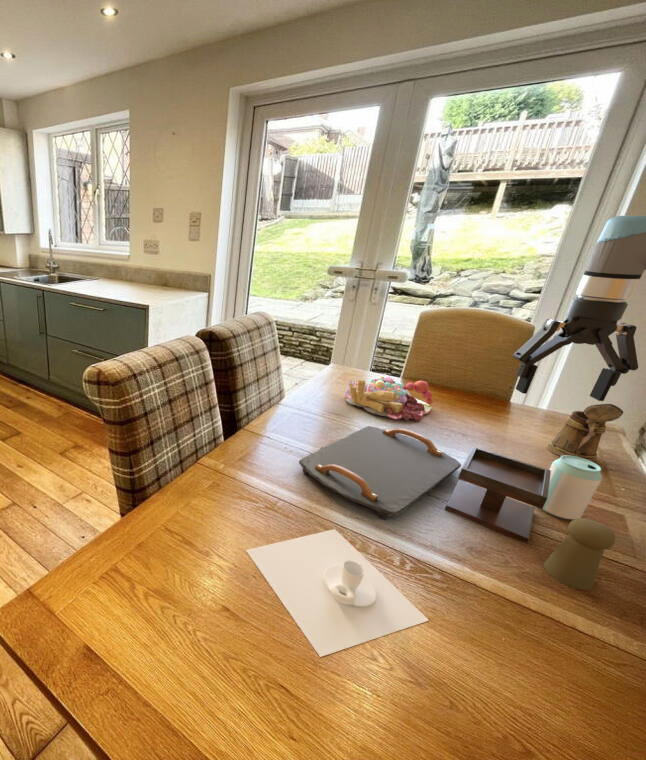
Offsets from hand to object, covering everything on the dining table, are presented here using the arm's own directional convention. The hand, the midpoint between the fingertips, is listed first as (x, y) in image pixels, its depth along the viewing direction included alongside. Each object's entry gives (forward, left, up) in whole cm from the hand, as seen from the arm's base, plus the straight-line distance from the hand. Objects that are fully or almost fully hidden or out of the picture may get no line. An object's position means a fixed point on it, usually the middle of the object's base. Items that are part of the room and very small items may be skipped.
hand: (557, 395), depth 87 cm
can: (-6, +11, -22) cm, 25 cm away
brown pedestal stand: (+4, +22, -22) cm, 31 cm away
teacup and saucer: (+20, +65, -22) cm, 71 cm away
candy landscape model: (+36, -20, -22) cm, 46 cm away
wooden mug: (-8, -21, -22) cm, 32 cm away
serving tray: (+25, +24, -22) cm, 41 cm away
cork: (-8, +33, -22) cm, 40 cm away
